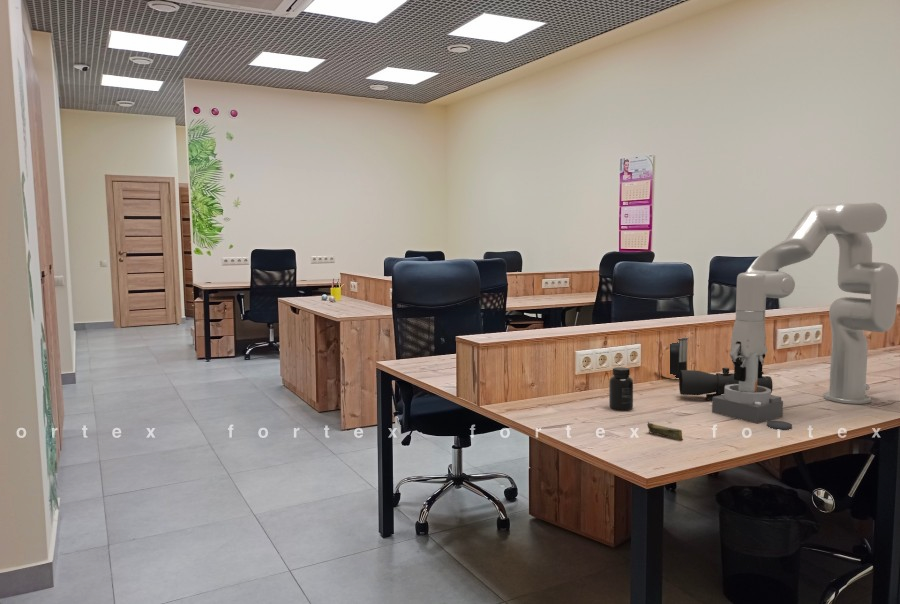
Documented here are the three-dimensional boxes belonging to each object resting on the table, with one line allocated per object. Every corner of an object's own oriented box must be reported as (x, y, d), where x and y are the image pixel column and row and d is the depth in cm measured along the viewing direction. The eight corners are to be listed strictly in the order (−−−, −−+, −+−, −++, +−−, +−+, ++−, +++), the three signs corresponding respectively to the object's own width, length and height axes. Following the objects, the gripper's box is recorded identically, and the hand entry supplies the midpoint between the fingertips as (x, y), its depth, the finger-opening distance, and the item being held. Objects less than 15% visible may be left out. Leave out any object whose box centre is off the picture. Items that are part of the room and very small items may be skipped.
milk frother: (657, 374, 242) (658, 334, 240) (700, 374, 241) (702, 334, 240) (669, 383, 228) (670, 340, 226) (715, 383, 227) (716, 340, 226)
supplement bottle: (633, 406, 196) (634, 367, 195) (632, 412, 190) (632, 371, 189) (610, 404, 198) (610, 365, 197) (607, 410, 192) (608, 370, 191)
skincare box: (754, 396, 182) (756, 353, 181) (737, 394, 184) (739, 352, 183) (757, 392, 187) (759, 350, 186) (741, 390, 189) (742, 349, 188)
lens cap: (774, 423, 178) (775, 419, 178) (796, 428, 173) (796, 424, 173) (762, 427, 175) (762, 422, 175) (783, 432, 170) (783, 428, 170)
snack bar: (683, 440, 163) (683, 429, 163) (679, 442, 162) (680, 430, 162) (649, 432, 170) (649, 421, 170) (645, 433, 169) (646, 422, 169)
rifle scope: (774, 405, 195) (775, 372, 194) (682, 402, 201) (683, 370, 200) (765, 397, 206) (766, 366, 205) (678, 394, 211) (678, 363, 210)
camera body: (737, 406, 195) (737, 381, 194) (782, 416, 183) (783, 390, 183) (712, 412, 189) (712, 386, 188) (757, 423, 177) (758, 396, 176)
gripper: (756, 313, 191) (753, 373, 193) (719, 317, 182) (717, 380, 183) (780, 315, 185) (778, 377, 187) (743, 320, 176) (741, 385, 177)
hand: (748, 378), depth 185 cm, fingers closed on skincare box, 7 cm apart
